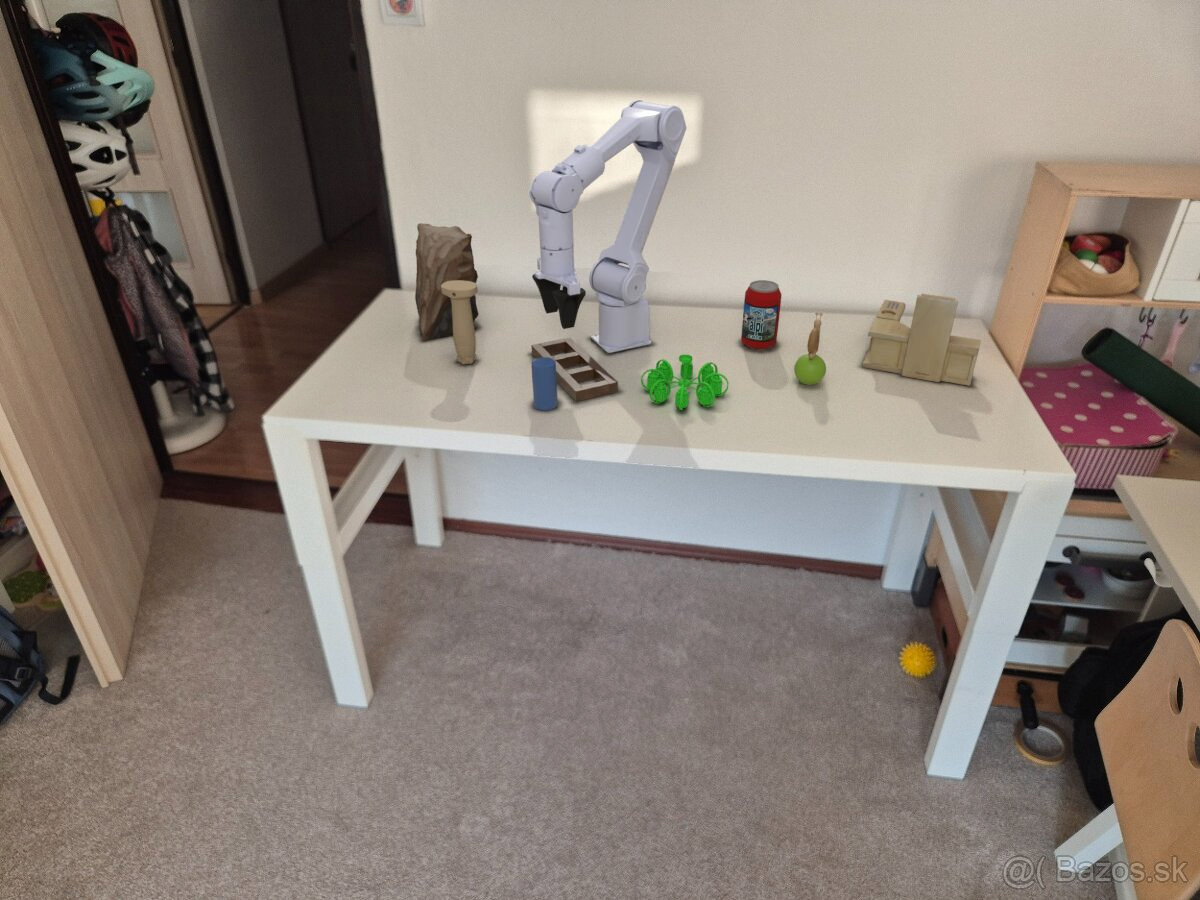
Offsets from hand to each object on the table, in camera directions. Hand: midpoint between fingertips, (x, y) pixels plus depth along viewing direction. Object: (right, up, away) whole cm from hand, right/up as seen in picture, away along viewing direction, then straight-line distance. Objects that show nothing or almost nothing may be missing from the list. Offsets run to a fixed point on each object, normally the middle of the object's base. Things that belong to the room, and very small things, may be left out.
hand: (559, 319), depth 149 cm
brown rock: (-25, +1, +20) cm, 32 cm away
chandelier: (+22, -14, -4) cm, 26 cm away
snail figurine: (+44, -11, -1) cm, 46 cm away
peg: (-2, -16, -7) cm, 17 cm away
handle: (-18, -7, +7) cm, 20 cm away
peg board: (+2, -9, +3) cm, 10 cm away
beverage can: (+38, -3, +13) cm, 40 cm away
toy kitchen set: (+67, -7, +6) cm, 67 cm away
